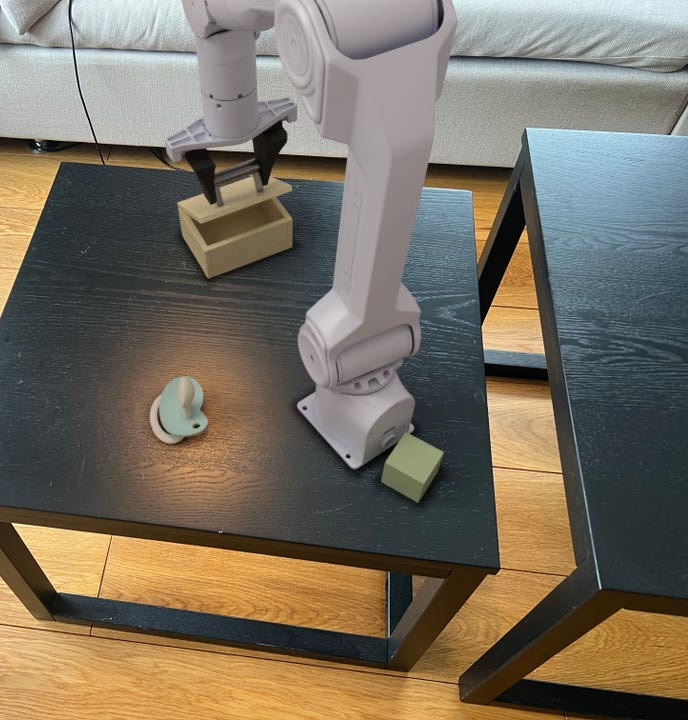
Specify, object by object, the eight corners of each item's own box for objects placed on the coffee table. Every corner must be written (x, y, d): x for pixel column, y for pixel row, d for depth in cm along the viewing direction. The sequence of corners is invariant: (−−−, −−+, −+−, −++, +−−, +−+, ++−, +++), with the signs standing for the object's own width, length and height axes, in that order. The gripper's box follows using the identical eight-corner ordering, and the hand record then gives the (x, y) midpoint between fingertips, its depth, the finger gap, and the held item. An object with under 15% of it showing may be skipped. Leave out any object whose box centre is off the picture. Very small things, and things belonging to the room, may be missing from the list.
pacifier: (154, 453, 78) (211, 442, 77) (143, 421, 73) (204, 410, 72) (147, 395, 82) (202, 385, 82) (136, 361, 77) (194, 351, 77)
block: (437, 472, 73) (444, 452, 70) (418, 503, 72) (424, 484, 68) (400, 452, 75) (405, 431, 72) (380, 482, 73) (384, 462, 70)
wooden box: (292, 247, 93) (292, 219, 89) (208, 279, 91) (204, 251, 87) (263, 206, 98) (262, 178, 94) (182, 235, 96) (177, 207, 92)
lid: (292, 190, 86) (284, 152, 84) (201, 224, 84) (190, 185, 82) (262, 178, 94) (254, 142, 92) (178, 208, 92) (168, 172, 90)
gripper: (275, 44, 79) (277, 150, 90) (147, 85, 77) (165, 189, 88) (307, 77, 75) (305, 184, 86) (172, 122, 73) (188, 226, 83)
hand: (236, 189), depth 86 cm, fingers closed on lid, 6 cm apart
